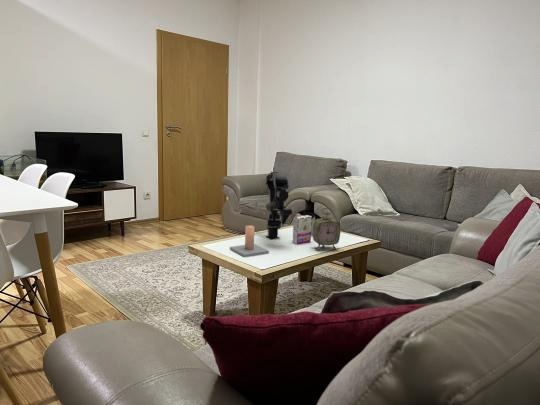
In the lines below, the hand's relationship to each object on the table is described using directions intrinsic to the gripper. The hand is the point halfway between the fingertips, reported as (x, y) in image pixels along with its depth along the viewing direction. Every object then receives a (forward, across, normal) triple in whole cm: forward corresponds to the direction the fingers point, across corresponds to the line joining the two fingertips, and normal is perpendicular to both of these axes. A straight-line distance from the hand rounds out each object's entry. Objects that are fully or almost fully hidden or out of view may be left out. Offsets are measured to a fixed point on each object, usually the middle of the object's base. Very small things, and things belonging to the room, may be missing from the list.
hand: (278, 223), depth 259 cm
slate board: (+13, +5, -23) cm, 27 cm away
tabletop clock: (+13, +20, +20) cm, 31 cm away
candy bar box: (+13, +3, +16) cm, 21 cm away
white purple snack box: (+13, -12, +30) cm, 35 cm away
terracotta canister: (+12, +5, -23) cm, 26 cm away
